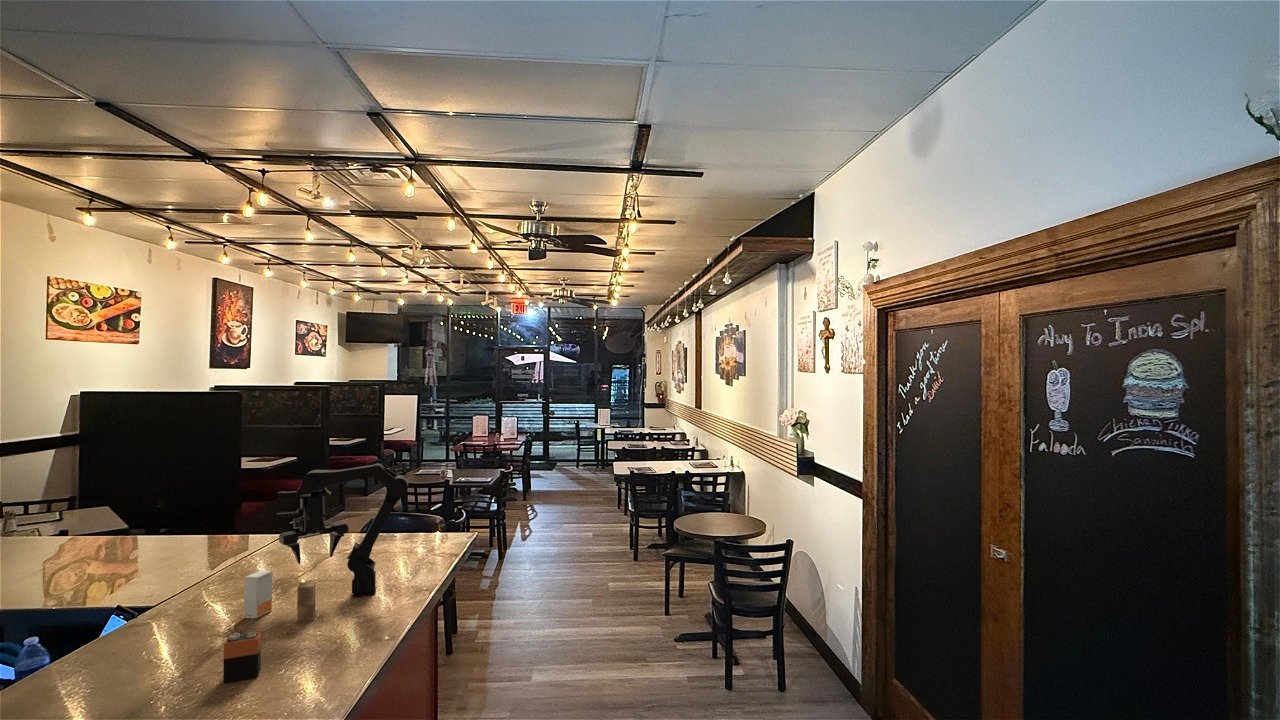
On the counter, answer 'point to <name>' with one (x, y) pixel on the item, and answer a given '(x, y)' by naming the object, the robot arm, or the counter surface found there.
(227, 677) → the battery
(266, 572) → the skincare box
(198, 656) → the counter surface
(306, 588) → the walnut block
